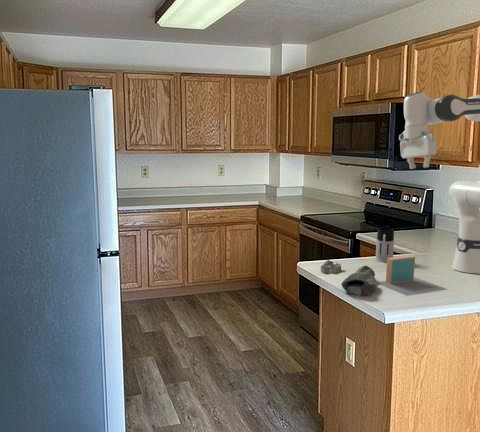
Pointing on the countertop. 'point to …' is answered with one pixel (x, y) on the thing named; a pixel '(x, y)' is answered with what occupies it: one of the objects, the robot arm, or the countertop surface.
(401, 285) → the mat
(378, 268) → the countertop surface
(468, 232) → the robot arm
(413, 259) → the tile
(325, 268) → the egg carton
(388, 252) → the glass holder
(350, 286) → the detergent
